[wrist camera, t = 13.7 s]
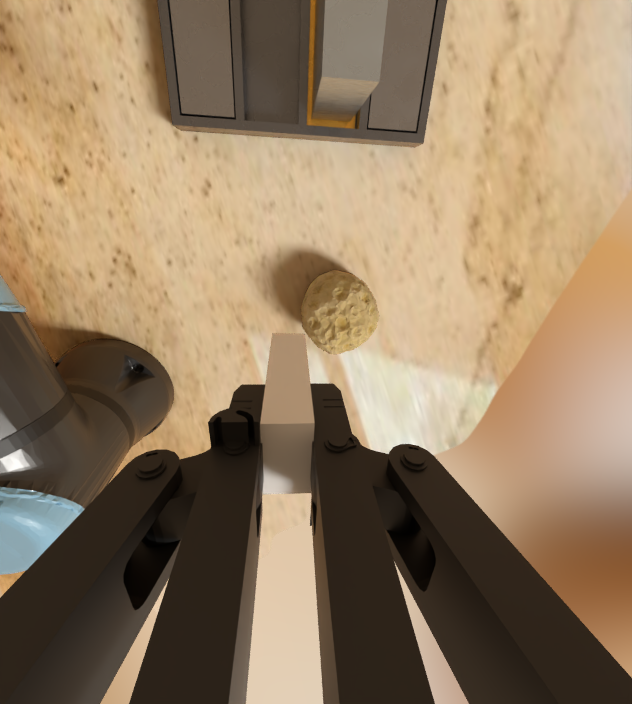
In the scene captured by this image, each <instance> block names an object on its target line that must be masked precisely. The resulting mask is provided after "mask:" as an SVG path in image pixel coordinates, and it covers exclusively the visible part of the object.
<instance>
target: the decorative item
mask: <svg viewBox="0 0 632 704" xmlns="http://www.w3.org/2000/svg"><path fill="white" fill-rule="evenodd" d="M301 315H302V321H303V325H302V327H303V329H304V330H305V332H306V333H307V335H308V337H310V338H311V340H312V341H313V342H314V343H315V344H316V345H317V347H318V348H321V349H323V352H324V351H326V352H328V353H329V354H340V353H343V352H345V351H350V350H354V349H355V348H357V347H358V346H360V345H361V344H362V343H364V342H365V341H367V340H368V338H369V337H370V336H371V335H372V333H373V332H374V330H375V329H376V327H377V322H378V319H379V312H378V309H377V304H376V300H375V298H374V296H373V294H372V292H371V291H370V290H369V288H368V287H367V285H366V284H365V283H364V282H363V281H362V280H360V279H359V278H357V277H356V276H354V275H353V274H350V273H347V272H342V271H339V270H331V271H329V272H327V273H324V274H321V275H319V276H318V277H317V278H316V279H315V280H314V281H313V282H312V283H311V284H310V286H309V288H308V290H307V292H306V294H305V297H304V299H303V302H302V307H301Z"/></svg>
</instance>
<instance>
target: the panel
mask: <svg viewBox="0 0 632 704" xmlns="http://www.w3.org/2000/svg"><path fill="white" fill-rule="evenodd" d="M387 7H388V0H316V2H315V31H314V59H313V88H312V116H311V119H319V120H332V121H345V122H350V121H351V120H352V118H353V117H354V116H355V114H356V113H357V112H358V110H359V109H360V108H361V106H362V105H363V103H364V102H365V101H366V99H367V98H368V97H369V95H370V94H371V93H372V91H373V90H374V89H375V87H376V86H377V84H378V83H379V81H380V72H381V63H382V53H383V44H384V35H385V25H386V16H387Z"/></svg>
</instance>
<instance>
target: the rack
mask: <svg viewBox="0 0 632 704" xmlns="http://www.w3.org/2000/svg"><path fill="white" fill-rule="evenodd" d="M157 1H158V9H159V18H160V26H161V34H162V42H163V51H164V59H165V67H166V75H167V83H168V92H169V100H170V108H171V116H172V125H173V126H175V127H176V128H178V129H179V130H181V131H195V132H209V133H223V134H237V135H251V136H264V137H278V138H292V139H306V140H320V141H334V142H348V143H362V144H376V145H389V146H403V147H416V146H419V145H421V144H423V142H424V136H425V130H426V124H427V118H428V112H429V106H430V100H431V94H432V88H433V82H434V76H435V70H436V64H437V58H438V52H439V46H440V40H441V34H442V28H443V21H444V15H445V9H446V3H447V0H388V7H387V16H386V25H385V35H384V44H383V53H382V63H381V72H380V81H379V83H378V84H377V86H376V87H375V89H374V90H373V91H372V93H371V94H370V95H369V97H368V98H367V99H366V101H365V102H364V103H363V105H362V106H361V108H360V109H359V110H358V112H357V113H356V114H355V116H354V117H353V118H352V120H351V121H350V122H345V121H332V120H319V119H311V116H312V88H313V59H314V31H315V2H316V0H157Z"/></svg>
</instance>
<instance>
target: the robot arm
mask: <svg viewBox="0 0 632 704" xmlns="http://www.w3.org/2000/svg"><path fill="white" fill-rule="evenodd" d="M25 312H27V311H26V308H25V307H24V306H23V305H20V303H19V302H18V300H17V299H16V297H15V296H14V294H13V293H12V291H11V290H10V288H9V287H8V285H7V284H6V282H5V281H4V279H3V278H2V276H1V274H0V575H1V574H11V573H17V572H22V571H25V572H24V573H23V574H22V576H21V577H20V578H19V579H18V580H17V581H16V582H15V583H14V584H13V585H12V586H11V587H10V588H9V589H8V590H7V591H6V592H5V593H4V594H3V596H2V597H1V598H0V704H100V703H101V701H102V699H103V697H104V695H105V693H106V692H107V690H108V688H109V686H110V684H111V683H112V681H113V679H114V677H115V675H116V674H117V672H118V670H119V668H120V666H121V664H122V663H123V661H124V659H125V657H126V655H127V653H128V652H129V650H130V648H131V646H132V644H133V643H134V641H135V639H136V637H137V635H138V633H139V631H140V629H141V628H142V626H143V624H144V622H145V621H146V619H147V617H148V615H149V613H150V611H151V610H152V608H153V606H154V604H155V602H156V601H157V599H158V597H159V595H160V593H161V591H162V590H163V588H164V586H165V584H166V582H167V581H168V579H169V581H168V584H167V587H166V590H165V593H164V596H163V599H162V602H161V606H160V609H159V612H158V615H157V618H156V622H155V624H154V628H153V631H152V634H151V637H150V640H149V643H148V646H147V650H146V653H145V656H144V659H143V662H142V665H141V668H140V671H139V675H138V678H137V681H136V684H135V687H134V690H133V693H132V696H131V700H130V703H129V704H246V692H247V681H248V670H249V658H250V646H251V635H252V624H253V613H254V601H255V589H256V578H257V567H258V555H259V544H260V532H261V521H262V492H263V494H291V493H311V494H312V499H311V517H310V526H312V532H313V548H314V563H315V577H316V594H317V609H318V625H319V641H320V656H321V671H322V687H323V703H324V704H435V703H434V699H433V696H432V692H431V689H430V685H429V682H428V678H427V675H426V671H425V668H424V664H423V661H422V657H421V654H420V651H419V647H418V643H417V640H416V636H415V633H414V629H413V626H412V622H411V619H410V615H409V612H408V608H407V605H406V601H405V598H404V594H403V591H402V588H401V584H400V581H399V577H398V574H397V570H396V567H395V563H396V565H397V567H398V569H399V571H400V573H401V575H402V577H403V578H404V580H405V582H406V584H407V586H408V588H409V590H410V592H411V594H412V596H413V598H414V599H415V601H416V603H417V605H418V607H419V609H420V611H421V613H422V615H423V616H424V619H425V620H426V622H427V624H428V626H429V628H430V630H431V632H432V634H433V636H434V637H435V639H436V641H437V643H438V645H439V647H440V649H441V651H442V653H443V655H444V657H445V659H446V660H447V662H448V664H449V666H450V668H451V670H452V672H453V674H454V676H455V677H456V680H457V681H458V683H459V685H460V687H461V689H462V691H463V693H464V695H465V697H466V699H467V701H468V702H469V704H632V678H631V677H630V676H629V675H628V673H627V672H626V671H625V670H624V669H623V668H622V667H621V666H620V664H619V663H618V662H617V661H616V660H615V659H614V658H613V657H612V656H611V654H610V653H609V652H608V651H607V650H606V649H605V648H604V646H603V645H602V644H601V643H600V642H599V641H598V640H597V639H596V638H595V636H594V635H593V634H592V633H591V632H590V631H589V630H588V628H587V627H586V626H585V625H584V624H583V623H582V622H581V621H580V619H579V618H578V617H577V616H576V615H575V614H574V613H573V612H572V611H571V610H570V609H569V607H568V606H567V605H566V604H565V603H564V602H563V600H562V599H561V598H560V597H559V596H558V595H557V594H556V593H555V592H554V590H553V589H552V588H551V587H550V586H549V585H548V584H547V582H546V581H545V580H544V579H543V578H542V577H541V576H540V575H539V574H538V572H537V571H536V570H535V569H534V568H533V567H532V566H531V564H530V563H529V562H528V561H527V560H526V559H525V558H524V557H523V556H522V554H521V553H520V552H519V551H518V550H517V549H516V548H515V547H514V545H513V544H512V543H511V542H510V541H509V540H508V539H507V538H506V536H505V535H504V534H503V533H502V532H501V531H500V530H499V529H498V527H497V526H496V525H495V524H494V523H493V522H492V521H491V520H490V519H489V518H488V516H487V515H486V514H485V513H484V512H483V511H482V509H480V507H479V506H478V505H477V504H476V503H475V502H474V500H473V499H472V498H471V497H470V496H469V495H468V494H467V493H466V492H465V490H464V489H463V488H462V487H461V486H460V485H459V484H458V483H457V481H456V480H455V479H454V478H453V477H452V476H451V475H450V474H449V472H447V470H446V469H445V468H444V467H443V466H442V465H441V463H440V462H439V461H438V460H437V459H436V458H435V457H434V456H433V455H432V454H431V453H430V452H428V451H427V450H425V449H423V448H421V447H419V446H416V445H411V444H400V445H398V446H395V447H393V449H392V450H391V451H390V452H389V454H385V453H381V452H376V451H373V450H370V449H367V448H365V447H364V446H362V445H361V444H360V442H359V440H358V439H357V437H355V436H354V435H353V434H352V432H351V428H350V424H349V421H348V417H347V413H346V409H345V406H344V402H343V398H342V394H341V391H340V390H339V389H338V388H337V387H336V386H335V385H334V384H310V377H309V368H308V359H307V350H306V341H305V334H279V333H272V340H271V347H270V355H269V362H268V370H267V377H266V384H265V385H241V386H240V387H239V388H238V389H237V390H236V391H235V392H234V394H233V397H232V400H231V404H230V407H229V409H226V410H223V411H220V412H218V413H217V414H215V415H214V416H212V418H211V419H210V421H209V422H208V425H209V433H210V441H211V449H210V450H208V451H206V452H204V453H202V454H199V455H196V456H192V457H188V458H184V459H180V460H179V457H178V456H177V455H176V453H175V452H172V451H169V450H153V451H149V452H146V453H144V454H142V455H139V456H137V457H136V458H134V459H133V460H132V461H131V462H129V463H128V464H127V465H126V466H125V467H124V468H123V469H122V470H121V471H120V473H119V474H118V475H117V476H116V477H115V478H114V479H113V480H112V481H111V482H110V480H111V478H112V477H113V475H114V474H115V472H116V470H117V469H118V467H119V466H120V464H121V462H122V461H123V459H124V458H125V456H126V454H127V453H128V451H129V450H130V448H131V447H132V446H133V445H135V444H136V443H137V442H139V441H140V440H141V439H142V438H143V437H144V436H146V435H148V434H150V433H151V432H153V431H154V430H155V429H157V428H158V427H159V426H160V425H161V424H162V422H163V421H164V420H165V418H166V416H167V414H168V413H169V411H170V409H171V407H172V404H173V400H174V389H173V384H172V381H171V379H170V377H169V375H168V373H167V371H166V370H165V368H164V367H163V366H162V365H161V364H160V363H159V361H157V360H156V359H155V358H154V357H153V356H152V355H150V354H149V353H148V352H146V351H144V350H143V349H141V348H139V347H137V346H135V345H132V344H129V343H126V342H123V341H119V340H112V339H96V340H91V341H87V342H84V343H81V344H79V345H77V346H75V347H74V348H72V349H71V350H69V351H68V352H66V353H65V354H64V355H62V356H61V357H60V358H59V359H58V360H57V361H56V362H55V364H54V362H53V361H52V359H51V357H50V355H49V354H48V352H47V350H46V349H45V347H44V345H43V343H42V342H41V340H40V338H39V336H38V335H37V333H36V331H35V329H34V328H33V326H32V324H31V322H30V320H29V318H28V317H27V315H26V313H25ZM109 482H110V483H109ZM108 483H109V484H108ZM394 561H395V563H394Z"/></svg>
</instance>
